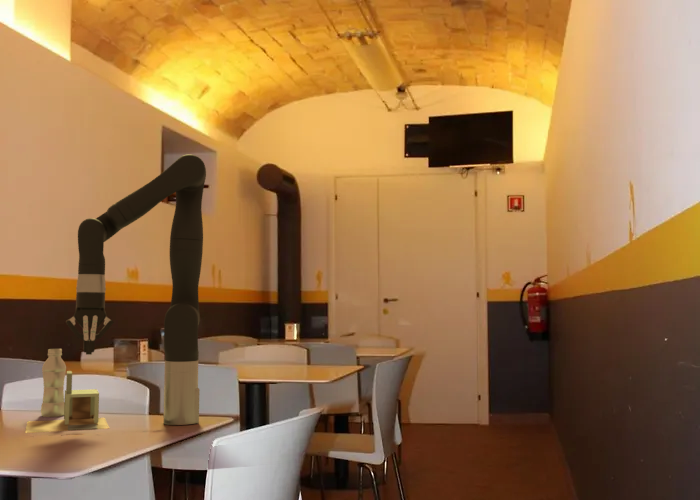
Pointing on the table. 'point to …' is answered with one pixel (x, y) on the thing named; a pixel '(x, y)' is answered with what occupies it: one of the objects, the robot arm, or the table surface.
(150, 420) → the table surface
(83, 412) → the walnut block
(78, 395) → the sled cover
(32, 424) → the puzzle board
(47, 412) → the plastic bottle
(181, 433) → the table surface
